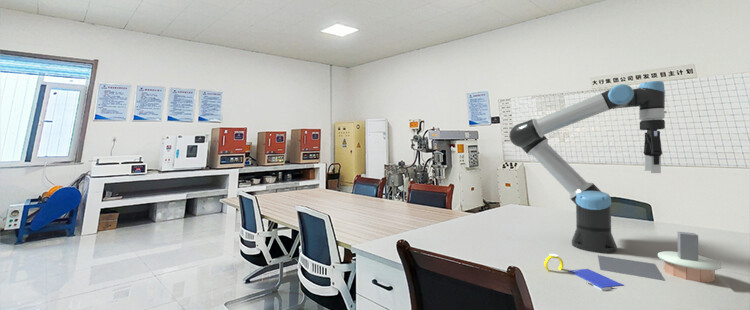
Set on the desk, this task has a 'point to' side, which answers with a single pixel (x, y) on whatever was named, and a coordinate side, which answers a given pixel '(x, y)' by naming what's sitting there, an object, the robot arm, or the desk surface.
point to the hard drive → (596, 279)
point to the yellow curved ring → (550, 258)
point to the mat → (630, 267)
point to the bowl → (689, 273)
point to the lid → (689, 254)
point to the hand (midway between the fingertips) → (652, 171)
